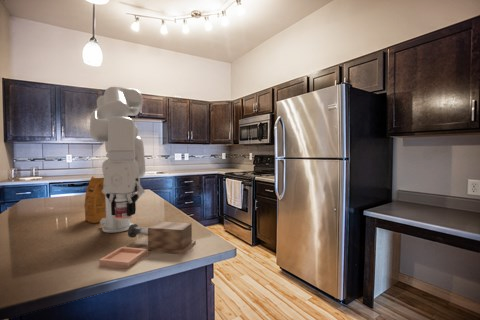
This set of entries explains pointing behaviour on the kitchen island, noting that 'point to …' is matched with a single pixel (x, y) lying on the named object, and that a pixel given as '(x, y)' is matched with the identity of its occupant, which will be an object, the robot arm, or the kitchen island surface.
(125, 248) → the tray
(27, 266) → the kitchen island surface
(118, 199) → the pill bottle
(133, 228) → the shaft
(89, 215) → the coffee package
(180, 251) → the block
